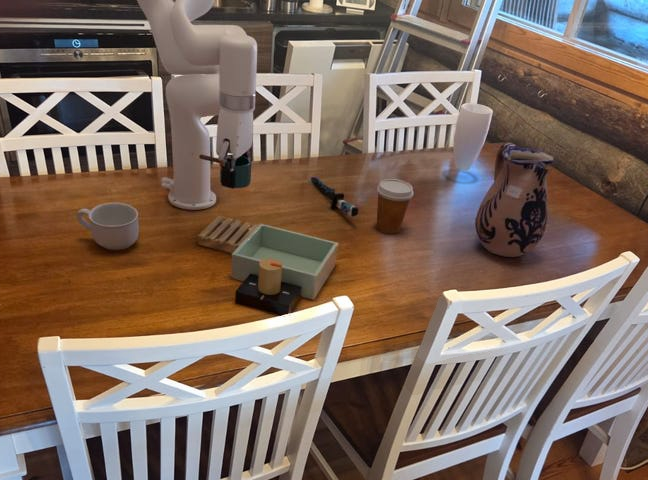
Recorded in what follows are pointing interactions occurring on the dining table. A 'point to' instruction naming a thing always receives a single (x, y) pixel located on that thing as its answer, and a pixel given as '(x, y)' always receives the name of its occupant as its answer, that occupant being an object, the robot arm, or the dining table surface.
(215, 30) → the robot arm
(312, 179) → the knife
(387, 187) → the disposable coffee cup
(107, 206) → the teacup
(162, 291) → the dining table surface
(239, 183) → the pan
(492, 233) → the ceramic pitcher
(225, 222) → the rack
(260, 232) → the pale green open box
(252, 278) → the black dial base
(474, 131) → the white vase
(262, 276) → the tap knob
